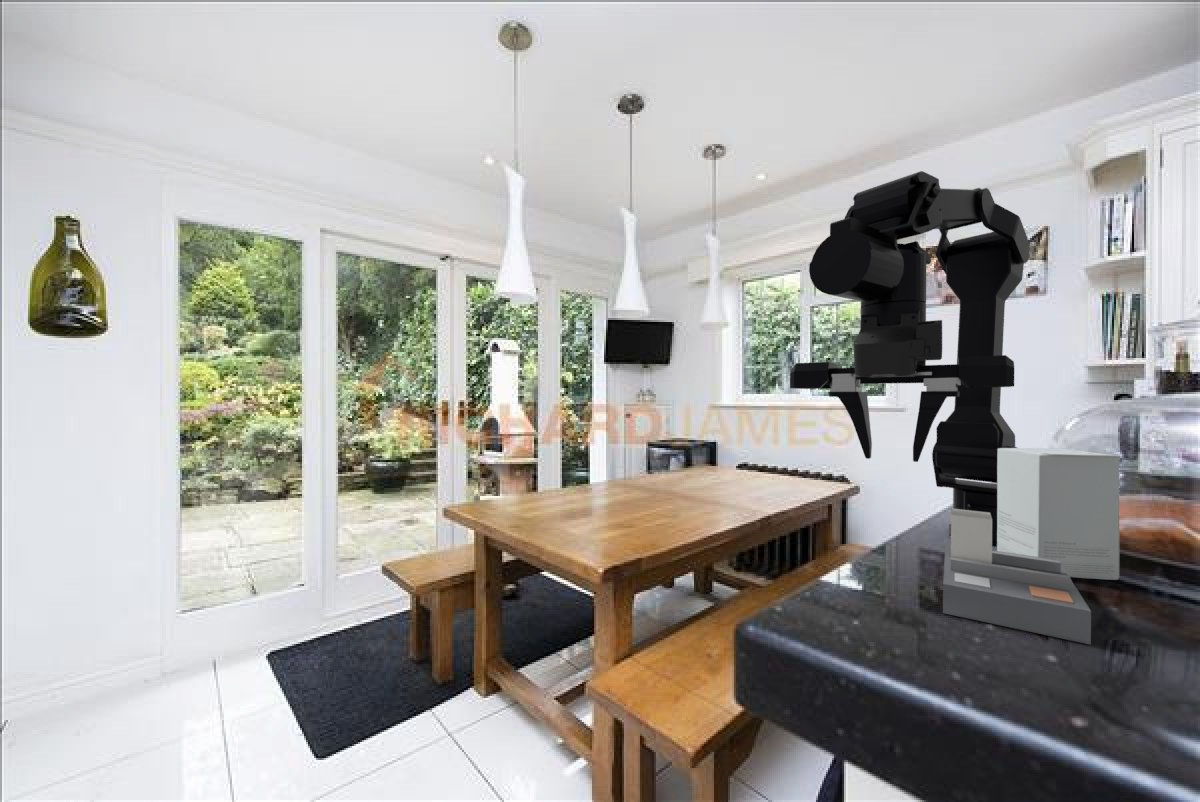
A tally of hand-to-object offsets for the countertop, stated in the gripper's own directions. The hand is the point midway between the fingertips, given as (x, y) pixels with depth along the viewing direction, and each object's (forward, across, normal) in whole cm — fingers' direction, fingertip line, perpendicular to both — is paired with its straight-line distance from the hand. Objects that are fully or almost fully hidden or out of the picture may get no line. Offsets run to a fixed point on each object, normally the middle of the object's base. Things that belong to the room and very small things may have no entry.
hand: (891, 459), depth 50 cm
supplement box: (+12, +14, +14) cm, 23 cm away
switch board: (+12, +9, 0) cm, 15 cm away
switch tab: (+9, +7, 0) cm, 11 cm away
